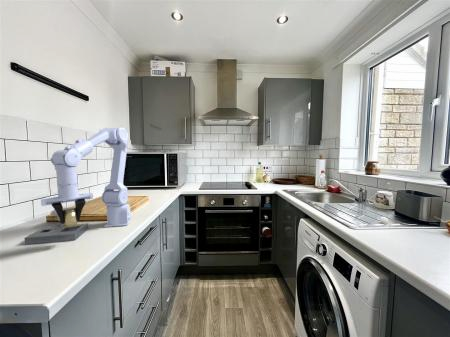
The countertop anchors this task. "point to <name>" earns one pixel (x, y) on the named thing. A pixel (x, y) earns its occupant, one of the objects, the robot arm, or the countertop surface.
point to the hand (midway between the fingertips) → (70, 221)
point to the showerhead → (54, 213)
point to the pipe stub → (69, 217)
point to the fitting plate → (56, 234)
